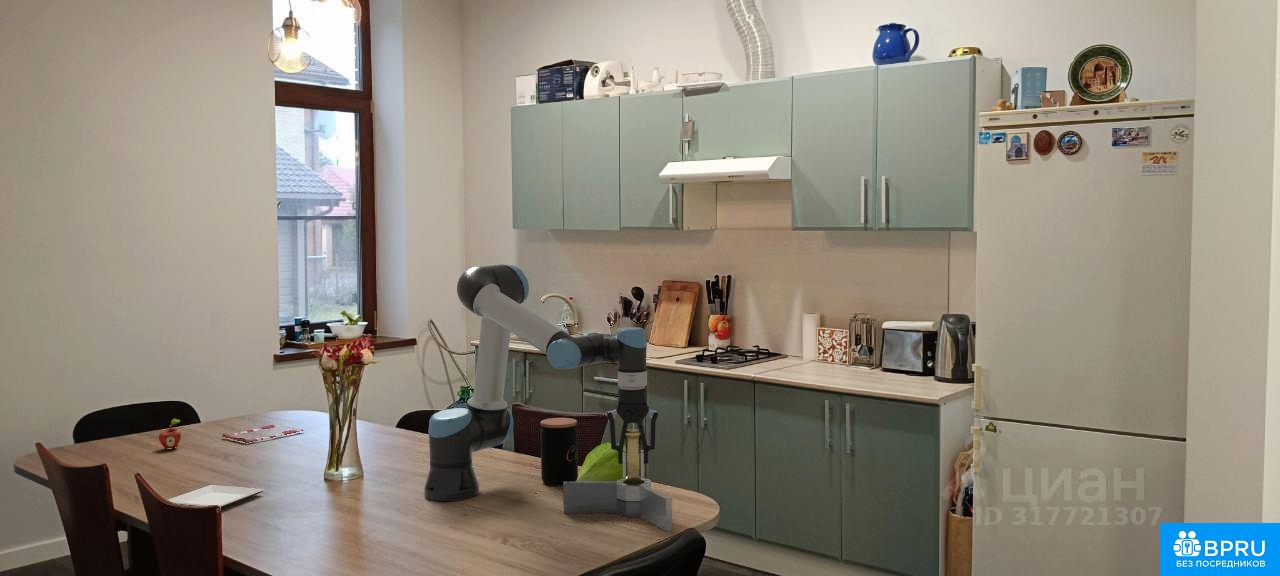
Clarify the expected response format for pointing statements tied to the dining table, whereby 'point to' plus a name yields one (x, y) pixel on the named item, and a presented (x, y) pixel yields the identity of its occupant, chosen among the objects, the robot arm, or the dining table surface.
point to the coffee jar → (559, 451)
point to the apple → (170, 436)
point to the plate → (216, 496)
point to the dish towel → (260, 437)
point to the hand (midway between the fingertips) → (633, 475)
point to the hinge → (619, 500)
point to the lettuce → (602, 465)
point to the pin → (633, 456)
